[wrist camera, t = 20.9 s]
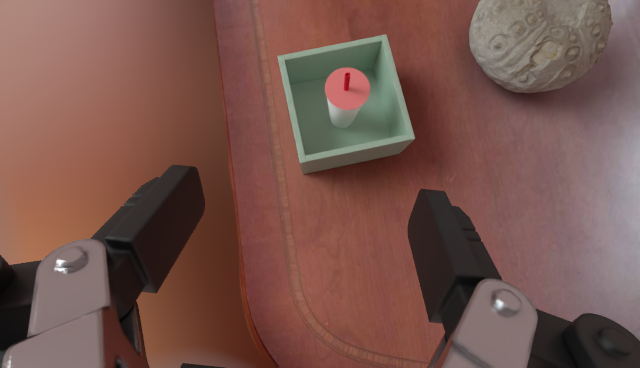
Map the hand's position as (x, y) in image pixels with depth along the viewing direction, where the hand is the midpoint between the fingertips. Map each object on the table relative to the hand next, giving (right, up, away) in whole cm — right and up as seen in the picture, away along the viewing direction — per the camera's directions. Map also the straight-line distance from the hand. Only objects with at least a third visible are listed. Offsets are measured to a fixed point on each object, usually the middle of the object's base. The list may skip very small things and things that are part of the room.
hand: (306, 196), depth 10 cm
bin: (+4, +10, +33) cm, 34 cm away
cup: (+4, +10, +32) cm, 34 cm away
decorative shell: (+31, +21, +34) cm, 51 cm away
